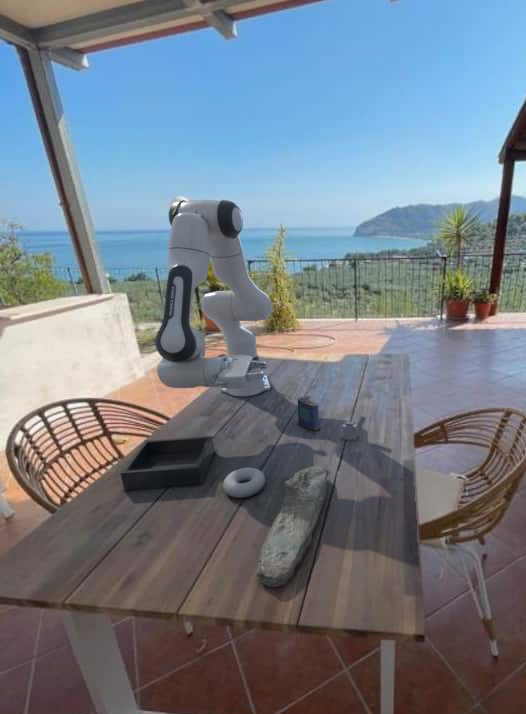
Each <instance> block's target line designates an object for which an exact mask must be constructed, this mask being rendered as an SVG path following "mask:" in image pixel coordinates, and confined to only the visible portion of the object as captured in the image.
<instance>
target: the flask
mask: <svg viewBox="0 0 526 714" xmlns="http://www.w3.org/2000/svg"><path fill="white" fill-rule="evenodd" d="M310 398H311V396H310V395H308V396H307V395H304V396H299V397H297V418H298V420H297V423H298V425H299V426H301V427H303V428H305V429H307V430H310V431H313V432H317V431H319V430H320V418H319V417H320V416H319V403H318V402H315V401H312V400H310Z"/></svg>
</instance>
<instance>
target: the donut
mask: <svg viewBox="0 0 526 714" xmlns="http://www.w3.org/2000/svg"><path fill="white" fill-rule="evenodd" d="M222 484H223V485H222V489H223V490H224V492H225V494H226V495H228V496H230V497H232V498H236V499H244V498H249V497H252V496H254V495H255V494H256V495H257V494H258V493H259V492H260V491H261V490H262V489H263V488H264V486H265V484H266V476H265V474H264V473H263V472H262V471H261V470H259V469H257V468H254V467H242V468H238V469H235V470H233V471H232V472H230V473H229V474H228V475H226V477H225V478H224V480H223V483H222Z"/></svg>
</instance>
